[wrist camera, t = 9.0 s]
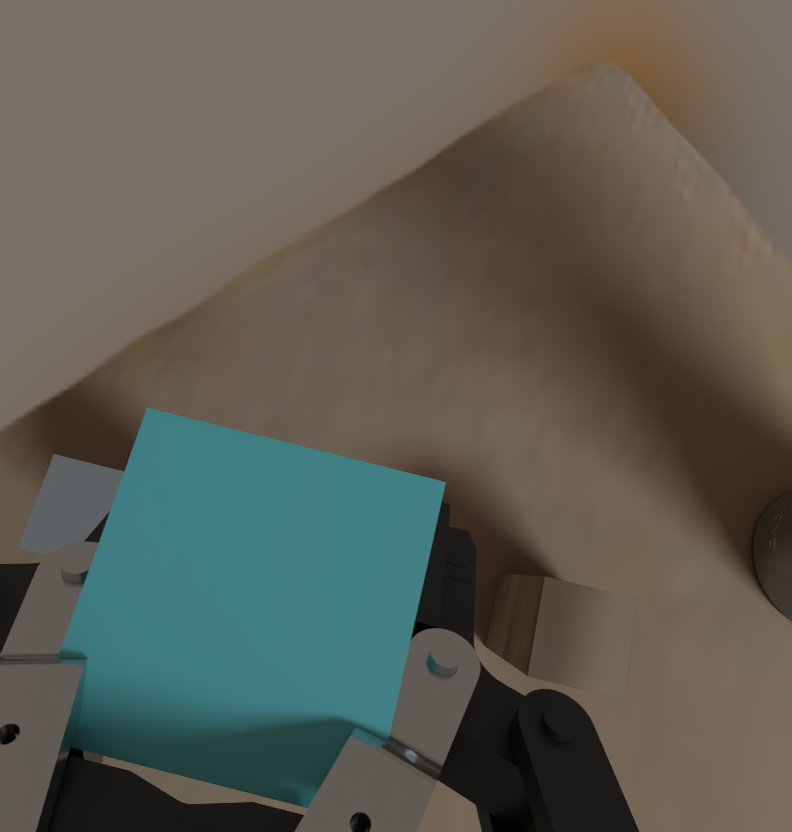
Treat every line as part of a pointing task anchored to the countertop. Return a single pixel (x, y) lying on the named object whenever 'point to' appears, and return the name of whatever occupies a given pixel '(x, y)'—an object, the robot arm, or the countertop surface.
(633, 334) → the countertop surface
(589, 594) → the walnut block
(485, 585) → the countertop surface
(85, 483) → the charcoal block
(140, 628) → the teal block
